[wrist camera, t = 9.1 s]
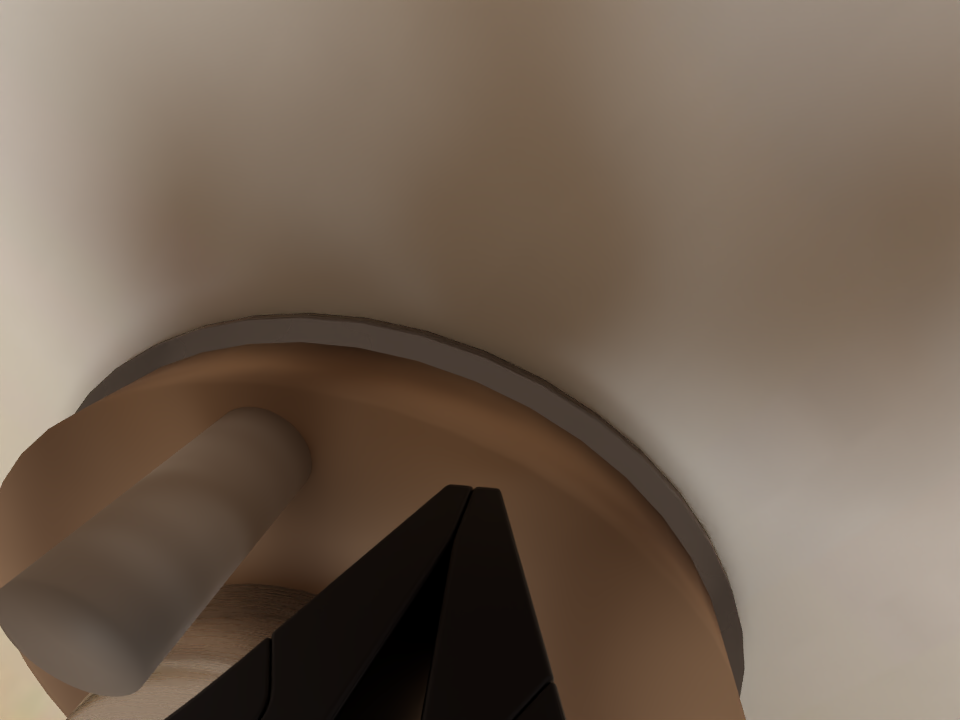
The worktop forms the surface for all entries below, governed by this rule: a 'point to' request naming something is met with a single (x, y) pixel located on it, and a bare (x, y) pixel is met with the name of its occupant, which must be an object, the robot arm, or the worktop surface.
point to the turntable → (334, 522)
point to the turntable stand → (487, 373)
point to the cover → (202, 652)
